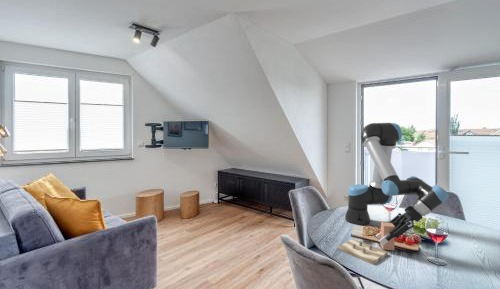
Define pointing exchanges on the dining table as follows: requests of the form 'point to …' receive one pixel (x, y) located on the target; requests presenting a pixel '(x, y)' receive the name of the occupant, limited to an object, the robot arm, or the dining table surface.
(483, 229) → the dining table surface
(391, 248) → the block
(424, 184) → the robot arm
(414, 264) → the dining table surface
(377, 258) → the base plate
